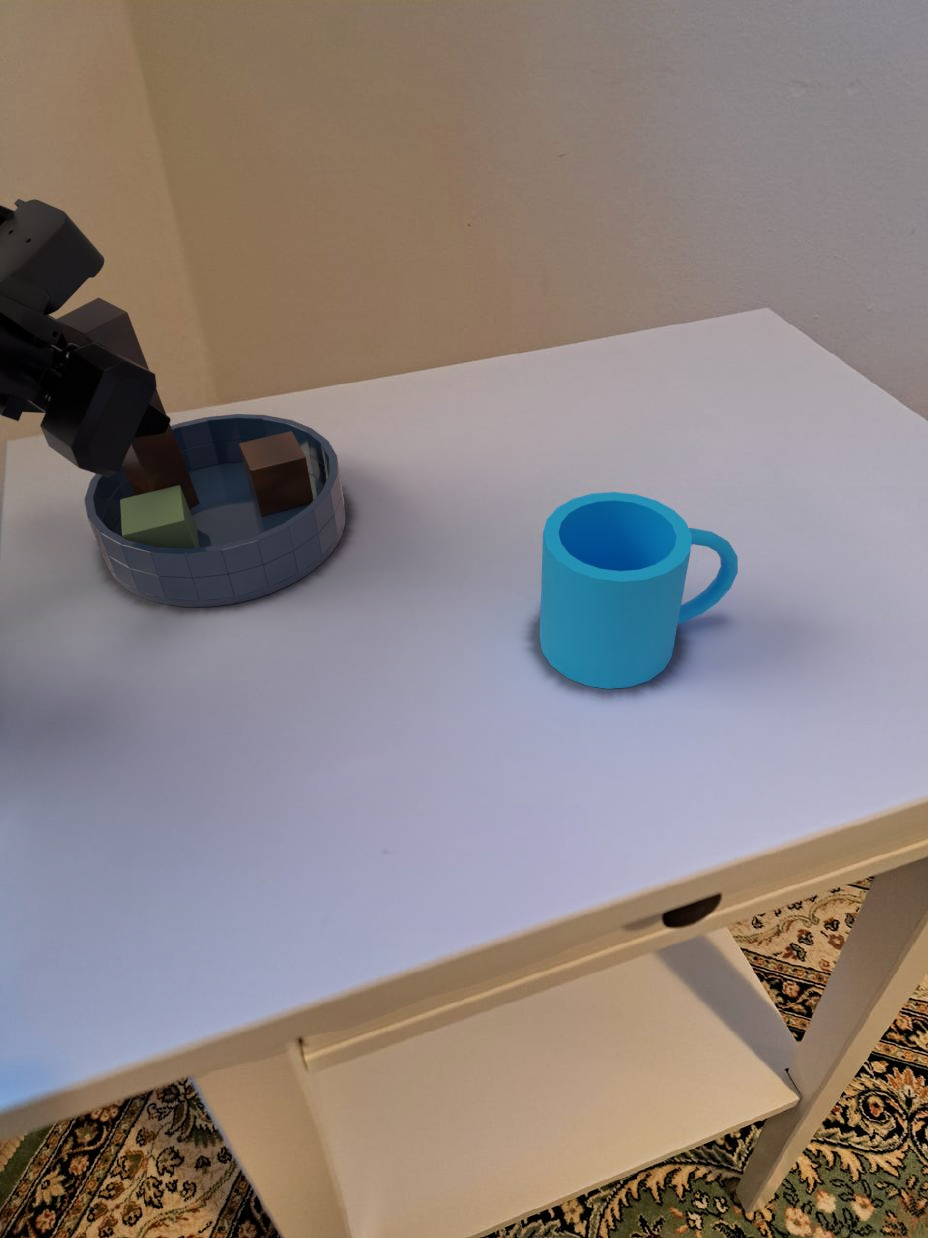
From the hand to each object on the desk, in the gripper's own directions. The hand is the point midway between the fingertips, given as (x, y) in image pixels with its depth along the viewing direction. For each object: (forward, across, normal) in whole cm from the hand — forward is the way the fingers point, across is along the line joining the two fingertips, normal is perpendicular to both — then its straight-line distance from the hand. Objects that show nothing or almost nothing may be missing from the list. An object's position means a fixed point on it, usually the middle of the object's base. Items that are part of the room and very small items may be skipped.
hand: (153, 416), depth 58 cm
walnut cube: (+11, -3, +2) cm, 11 cm away
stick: (+5, 0, +6) cm, 7 cm away
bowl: (+8, -2, +5) cm, 10 cm away
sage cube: (+4, -3, +8) cm, 9 cm away
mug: (+15, -31, -2) cm, 35 cm away
